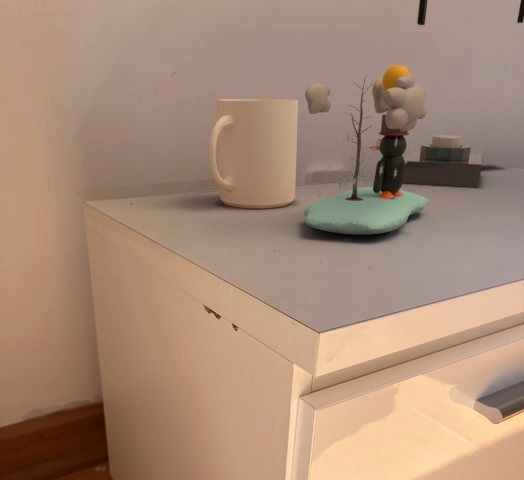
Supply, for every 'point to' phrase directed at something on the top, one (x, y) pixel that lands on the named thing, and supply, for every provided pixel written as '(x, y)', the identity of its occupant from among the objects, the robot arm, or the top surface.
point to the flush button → (446, 141)
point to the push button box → (443, 166)
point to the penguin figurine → (388, 168)
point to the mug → (255, 152)
